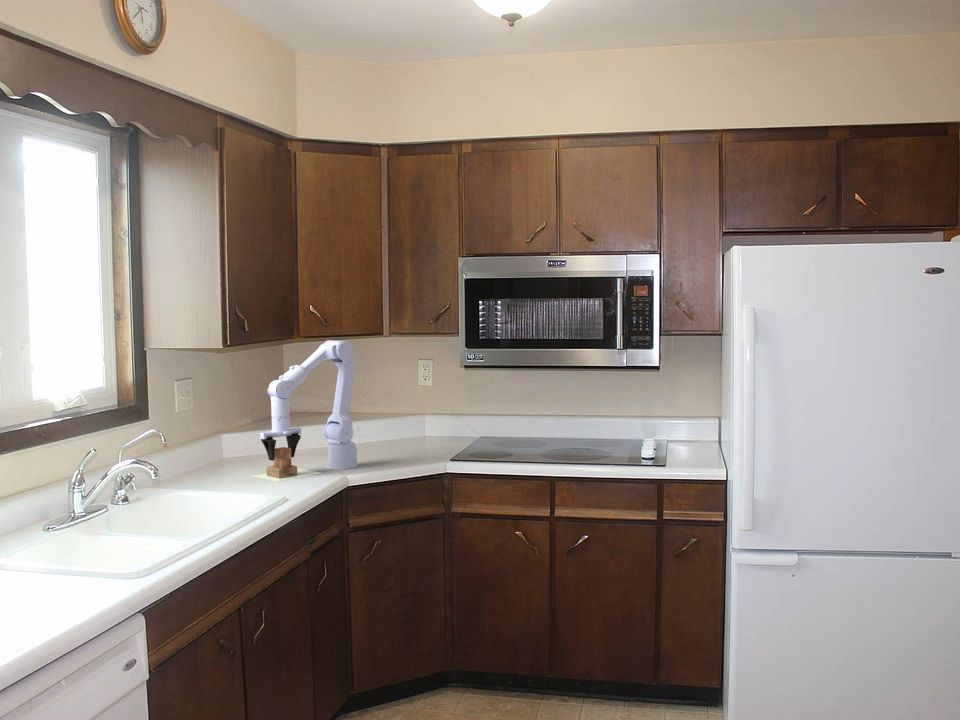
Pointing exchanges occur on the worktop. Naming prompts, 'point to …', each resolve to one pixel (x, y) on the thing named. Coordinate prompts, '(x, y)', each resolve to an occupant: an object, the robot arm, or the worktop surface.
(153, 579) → the worktop surface
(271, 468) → the walnut slab
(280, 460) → the cherry block
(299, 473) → the plate
